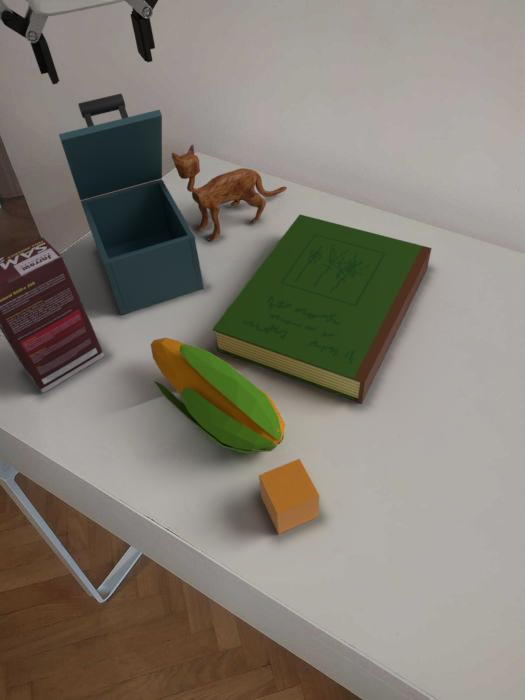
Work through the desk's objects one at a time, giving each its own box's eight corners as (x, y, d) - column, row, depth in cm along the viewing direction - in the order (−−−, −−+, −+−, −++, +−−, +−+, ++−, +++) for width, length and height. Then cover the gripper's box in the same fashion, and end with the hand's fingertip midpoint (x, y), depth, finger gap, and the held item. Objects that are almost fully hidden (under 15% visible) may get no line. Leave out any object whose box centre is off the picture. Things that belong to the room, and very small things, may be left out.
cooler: (203, 288, 77) (194, 236, 71) (121, 315, 75) (103, 263, 68) (172, 229, 86) (161, 178, 80) (98, 252, 84) (80, 201, 77)
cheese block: (278, 534, 54) (276, 513, 51) (261, 497, 57) (258, 474, 53) (318, 517, 55) (319, 495, 52) (299, 481, 57) (299, 458, 54)
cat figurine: (274, 185, 92) (270, 101, 82) (300, 203, 89) (299, 118, 78) (179, 231, 86) (161, 146, 76) (202, 252, 82) (188, 166, 72)
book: (362, 403, 63) (364, 382, 60) (215, 350, 70) (212, 328, 67) (428, 266, 77) (433, 244, 75) (302, 232, 84) (302, 211, 81)
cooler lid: (162, 115, 64) (147, 76, 65) (60, 140, 62) (46, 99, 62) (162, 178, 79) (150, 146, 80) (80, 200, 77) (68, 167, 77)
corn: (248, 443, 52) (117, 335, 61) (250, 487, 57) (129, 381, 67) (303, 397, 55) (170, 302, 65) (299, 442, 61) (178, 348, 71)
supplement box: (86, 336, 72) (43, 234, 61) (106, 357, 70) (64, 255, 58) (23, 372, 69) (-36, 271, 57) (41, 396, 66) (-17, 296, 55)
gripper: (134, -171, 50) (169, 37, 63) (-72, -143, 46) (10, 73, 59) (160, -160, 46) (191, 62, 59) (-67, -128, 42) (20, 103, 55)
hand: (100, 67), depth 59 cm, fingers open, 9 cm apart
